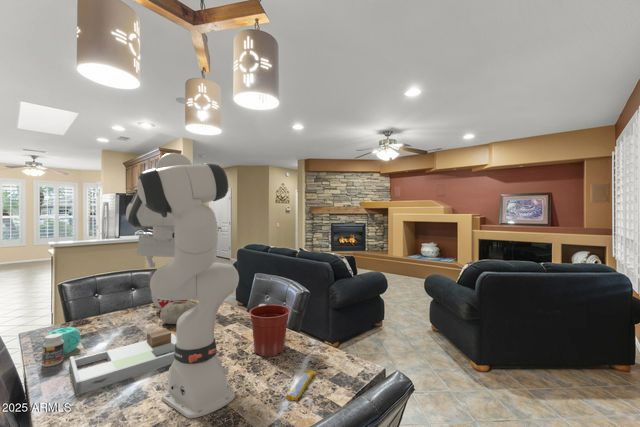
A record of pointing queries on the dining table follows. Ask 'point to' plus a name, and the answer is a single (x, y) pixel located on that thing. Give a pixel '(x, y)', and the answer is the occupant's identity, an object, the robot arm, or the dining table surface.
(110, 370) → the board
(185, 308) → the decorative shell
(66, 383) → the dining table surface
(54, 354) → the pill bottle
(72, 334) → the decorative dice
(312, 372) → the candy bar
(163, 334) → the walnut block
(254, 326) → the flower pot
